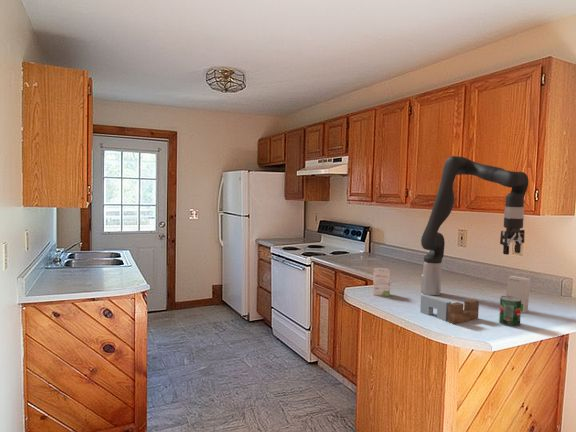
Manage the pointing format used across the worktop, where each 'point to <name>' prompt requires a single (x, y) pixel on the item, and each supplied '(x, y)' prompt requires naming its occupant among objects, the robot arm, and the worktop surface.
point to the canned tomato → (510, 311)
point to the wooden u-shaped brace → (463, 311)
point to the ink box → (381, 282)
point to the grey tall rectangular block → (434, 306)
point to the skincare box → (519, 290)
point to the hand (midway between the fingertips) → (511, 253)
